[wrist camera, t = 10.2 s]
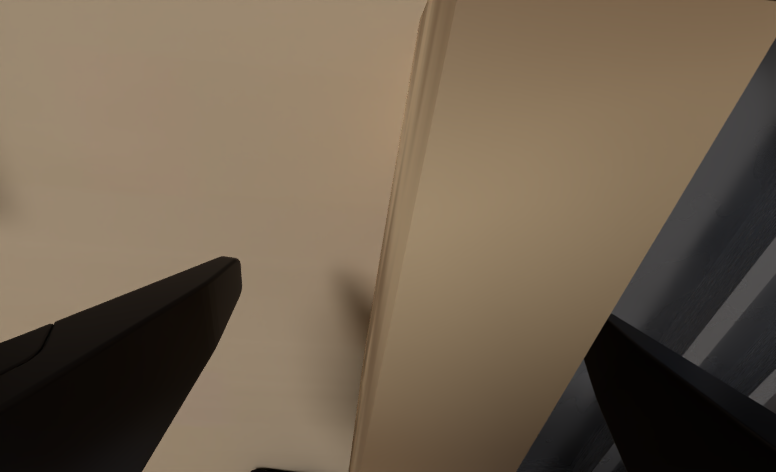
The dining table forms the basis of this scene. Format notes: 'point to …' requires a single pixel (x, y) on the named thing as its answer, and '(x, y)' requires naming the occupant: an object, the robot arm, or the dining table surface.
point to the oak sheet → (531, 206)
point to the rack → (696, 284)
